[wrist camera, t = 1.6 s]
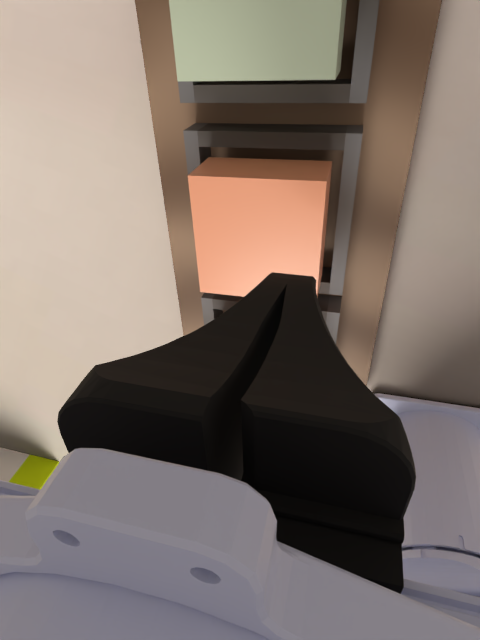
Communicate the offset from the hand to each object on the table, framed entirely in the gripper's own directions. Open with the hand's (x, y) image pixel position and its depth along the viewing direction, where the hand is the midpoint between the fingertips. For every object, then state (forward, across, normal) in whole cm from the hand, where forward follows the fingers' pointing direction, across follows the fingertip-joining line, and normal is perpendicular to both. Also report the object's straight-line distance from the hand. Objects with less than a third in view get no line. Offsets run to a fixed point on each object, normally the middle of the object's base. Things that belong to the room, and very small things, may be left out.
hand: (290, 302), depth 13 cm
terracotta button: (+6, +2, 0) cm, 7 cm away
